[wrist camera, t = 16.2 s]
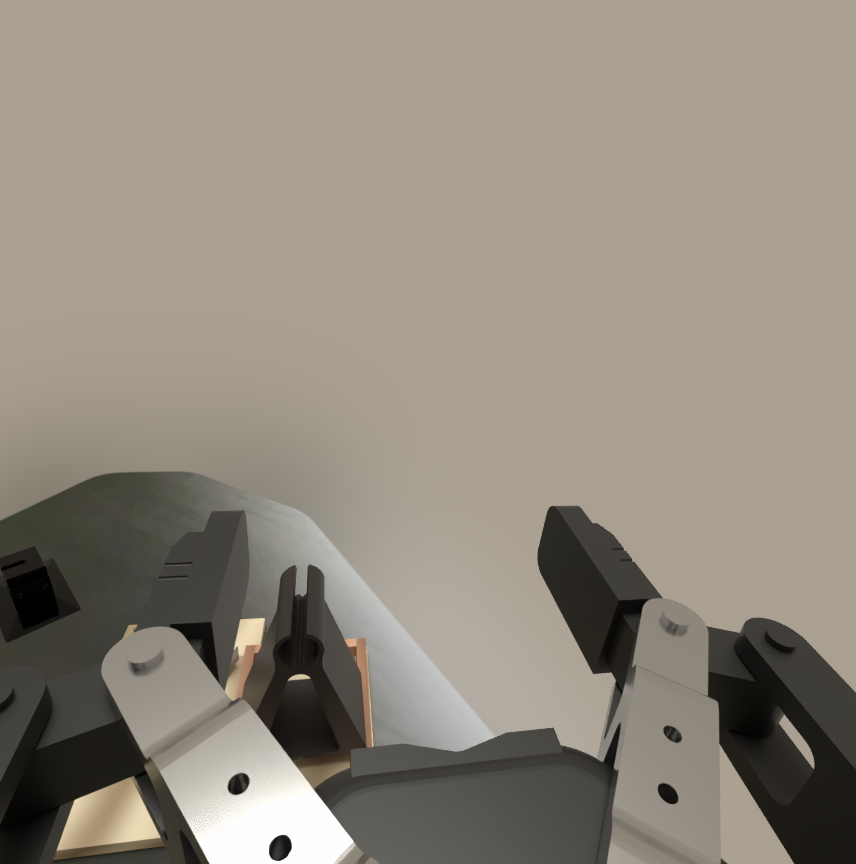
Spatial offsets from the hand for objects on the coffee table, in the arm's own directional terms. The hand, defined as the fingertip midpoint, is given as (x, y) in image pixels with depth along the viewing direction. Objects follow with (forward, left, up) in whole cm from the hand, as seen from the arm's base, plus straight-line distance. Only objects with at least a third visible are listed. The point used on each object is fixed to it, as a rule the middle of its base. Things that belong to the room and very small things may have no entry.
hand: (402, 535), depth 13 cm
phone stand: (-4, +14, -28) cm, 32 cm away
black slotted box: (-29, +30, -31) cm, 52 cm away
